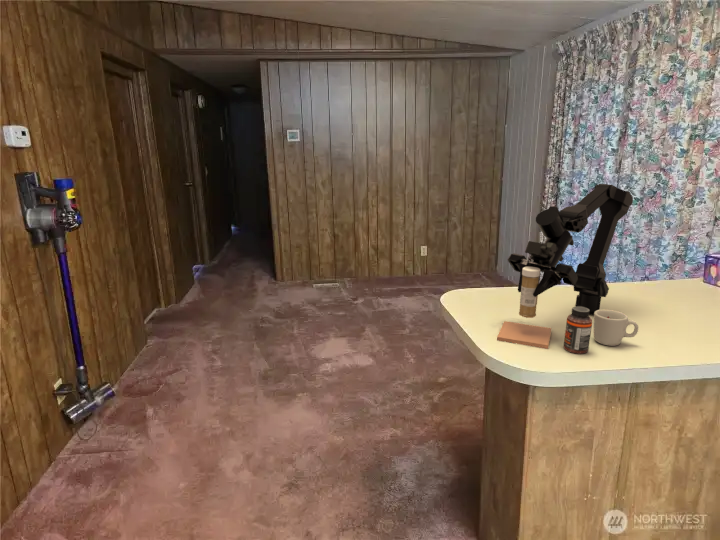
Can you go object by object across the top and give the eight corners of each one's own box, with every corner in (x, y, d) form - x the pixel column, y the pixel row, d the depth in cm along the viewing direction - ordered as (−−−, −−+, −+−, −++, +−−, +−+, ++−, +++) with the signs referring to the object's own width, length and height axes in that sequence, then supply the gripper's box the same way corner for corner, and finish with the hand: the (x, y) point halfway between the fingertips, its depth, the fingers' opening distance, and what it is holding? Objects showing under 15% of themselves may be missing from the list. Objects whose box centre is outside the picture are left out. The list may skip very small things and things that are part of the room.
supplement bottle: (558, 345, 126) (563, 304, 123) (580, 344, 127) (585, 304, 124) (570, 355, 120) (575, 312, 117) (592, 354, 121) (598, 312, 118)
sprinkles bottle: (537, 314, 132) (542, 267, 128) (534, 319, 128) (538, 271, 124) (520, 311, 134) (524, 265, 130) (516, 316, 130) (520, 269, 126)
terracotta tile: (551, 331, 135) (551, 328, 135) (548, 348, 124) (548, 345, 124) (504, 324, 140) (504, 321, 140) (496, 340, 129) (497, 336, 129)
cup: (632, 340, 130) (636, 312, 128) (638, 351, 122) (643, 322, 120) (588, 334, 133) (592, 307, 131) (592, 345, 126) (596, 317, 124)
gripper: (514, 225, 134) (486, 269, 131) (577, 235, 120) (547, 285, 116) (528, 248, 141) (502, 291, 137) (589, 261, 126) (561, 309, 123)
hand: (526, 293), depth 128 cm, fingers closed on sprinkles bottle, 4 cm apart
